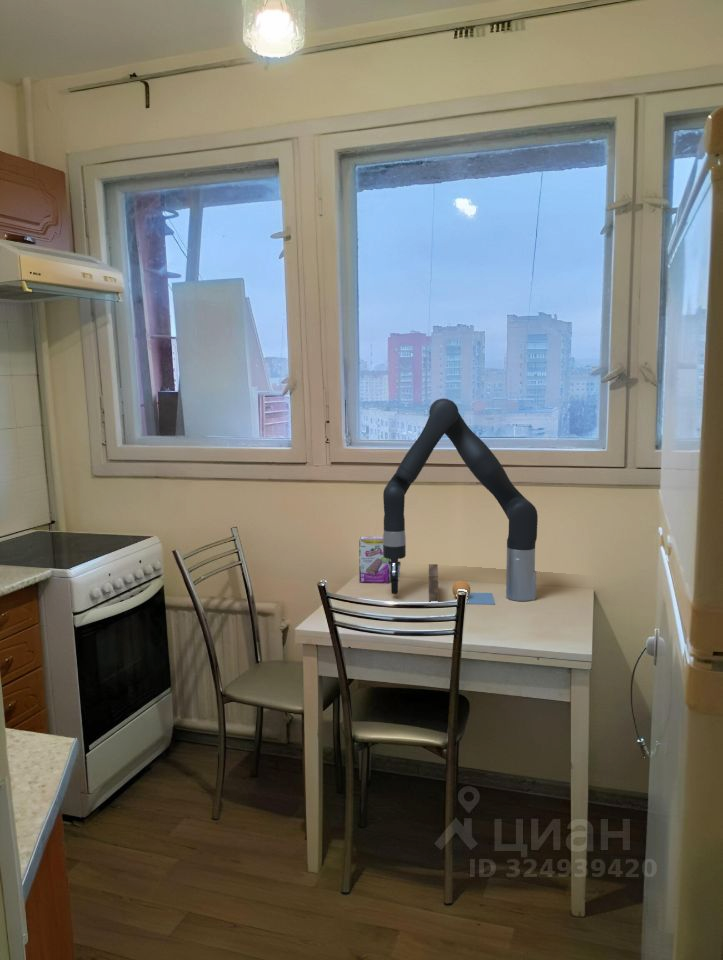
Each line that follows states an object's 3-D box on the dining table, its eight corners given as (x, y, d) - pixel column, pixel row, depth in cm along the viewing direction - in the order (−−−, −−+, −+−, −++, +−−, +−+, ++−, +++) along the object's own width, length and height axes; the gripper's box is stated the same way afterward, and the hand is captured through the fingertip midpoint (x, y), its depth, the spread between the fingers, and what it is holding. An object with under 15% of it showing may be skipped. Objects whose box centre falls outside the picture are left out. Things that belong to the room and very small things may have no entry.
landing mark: (491, 593, 242) (491, 592, 242) (495, 604, 230) (495, 603, 230) (456, 593, 243) (456, 592, 243) (458, 603, 231) (458, 603, 231)
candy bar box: (359, 583, 256) (358, 539, 254) (360, 579, 261) (360, 536, 259) (390, 583, 255) (389, 539, 253) (390, 579, 260) (390, 536, 258)
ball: (449, 592, 240) (466, 598, 239) (450, 597, 234) (467, 603, 234) (455, 576, 239) (472, 581, 238) (455, 581, 233) (473, 586, 233)
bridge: (437, 591, 245) (437, 564, 243) (438, 605, 230) (438, 576, 229) (428, 591, 245) (428, 564, 244) (429, 604, 230) (429, 576, 229)
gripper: (405, 547, 229) (405, 599, 232) (406, 538, 242) (406, 587, 245) (381, 547, 230) (382, 599, 232) (384, 538, 243) (384, 587, 245)
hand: (394, 593), depth 238 cm, fingers closed
